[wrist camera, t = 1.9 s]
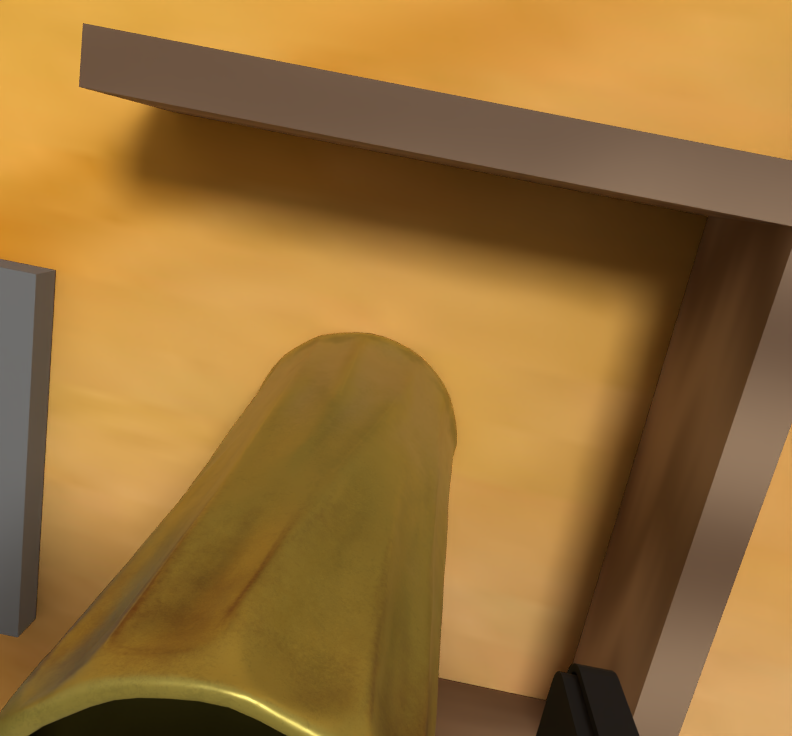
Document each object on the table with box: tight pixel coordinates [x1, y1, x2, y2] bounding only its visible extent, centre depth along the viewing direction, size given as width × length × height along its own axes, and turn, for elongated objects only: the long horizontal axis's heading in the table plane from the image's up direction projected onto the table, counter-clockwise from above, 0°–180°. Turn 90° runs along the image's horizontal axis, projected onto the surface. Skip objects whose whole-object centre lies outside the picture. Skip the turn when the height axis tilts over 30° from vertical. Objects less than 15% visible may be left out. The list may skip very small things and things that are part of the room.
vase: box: [0, 332, 457, 736], centre depth 14 cm, size 6×6×14 cm
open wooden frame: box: [79, 23, 792, 736], centre depth 19 cm, size 18×16×5 cm
